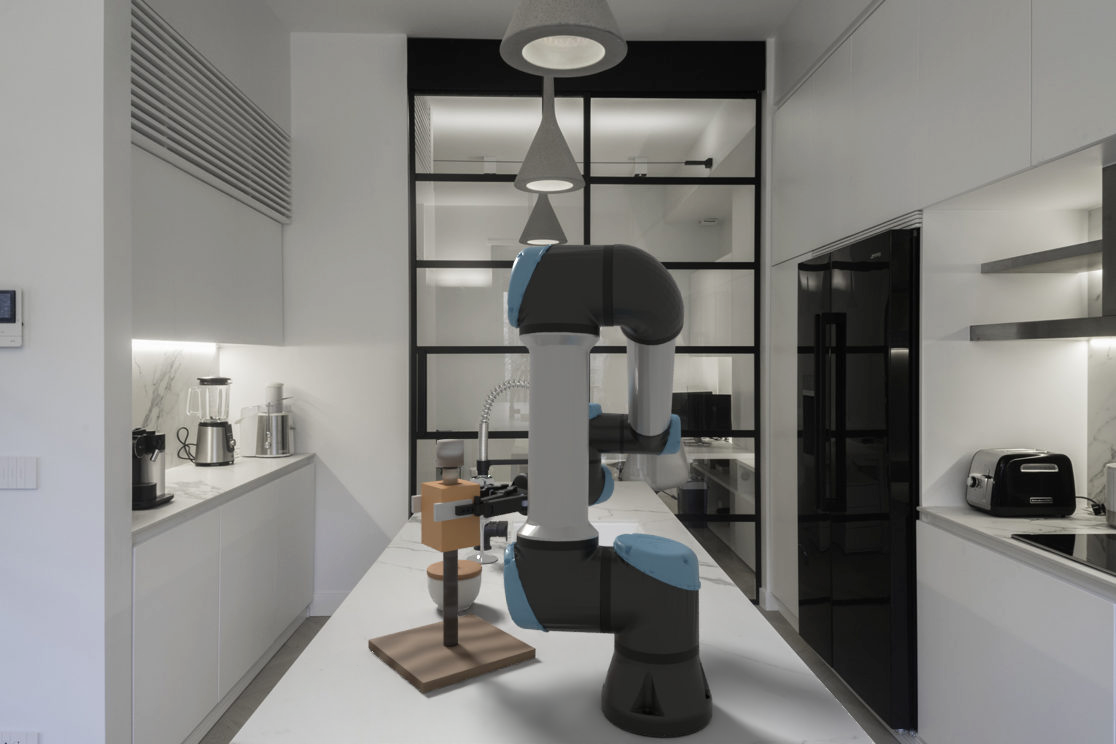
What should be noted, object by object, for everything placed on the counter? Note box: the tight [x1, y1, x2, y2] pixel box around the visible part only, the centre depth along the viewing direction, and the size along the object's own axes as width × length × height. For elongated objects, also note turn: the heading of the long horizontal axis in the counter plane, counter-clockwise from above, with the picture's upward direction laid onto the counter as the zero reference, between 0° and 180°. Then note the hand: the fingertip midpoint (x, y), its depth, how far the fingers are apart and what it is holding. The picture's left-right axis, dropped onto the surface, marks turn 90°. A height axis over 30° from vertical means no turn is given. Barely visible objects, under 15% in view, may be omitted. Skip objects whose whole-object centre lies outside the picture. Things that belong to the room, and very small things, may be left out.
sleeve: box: [420, 478, 480, 553], centre depth 116 cm, size 7×7×10 cm
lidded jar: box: [426, 559, 483, 612], centre depth 138 cm, size 11×11×9 cm
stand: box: [367, 438, 537, 694], centre depth 116 cm, size 20×20×35 cm
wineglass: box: [465, 474, 498, 565], centre depth 171 cm, size 8×8×20 cm
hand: (423, 508), depth 113 cm, fingers open, 7 cm apart
